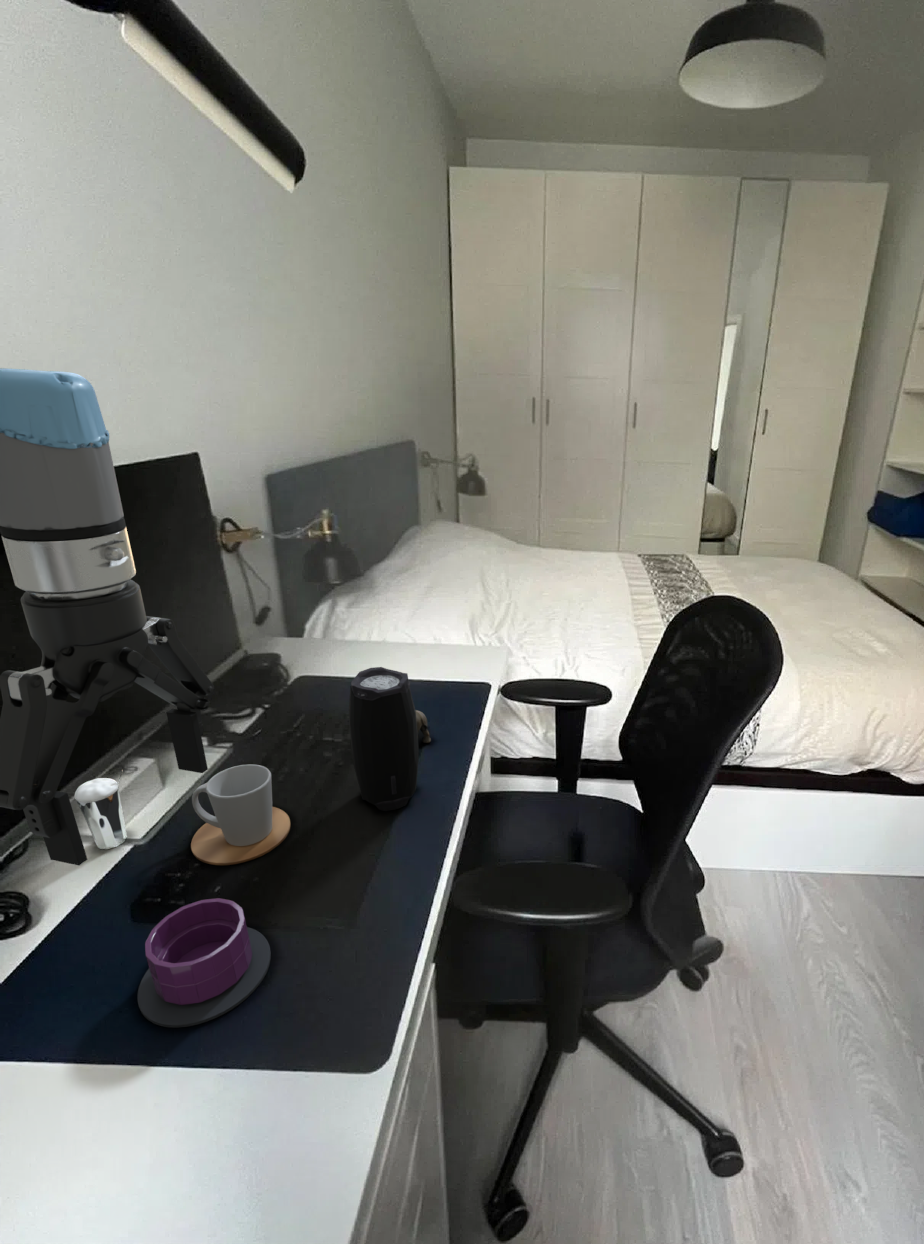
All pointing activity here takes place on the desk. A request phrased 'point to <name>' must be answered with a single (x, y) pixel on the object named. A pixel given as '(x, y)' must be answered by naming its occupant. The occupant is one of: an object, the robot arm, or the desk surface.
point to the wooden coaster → (218, 851)
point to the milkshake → (102, 811)
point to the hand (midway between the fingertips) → (138, 810)
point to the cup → (239, 803)
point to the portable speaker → (384, 737)
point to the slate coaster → (213, 1007)
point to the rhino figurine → (422, 726)
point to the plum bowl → (198, 951)
